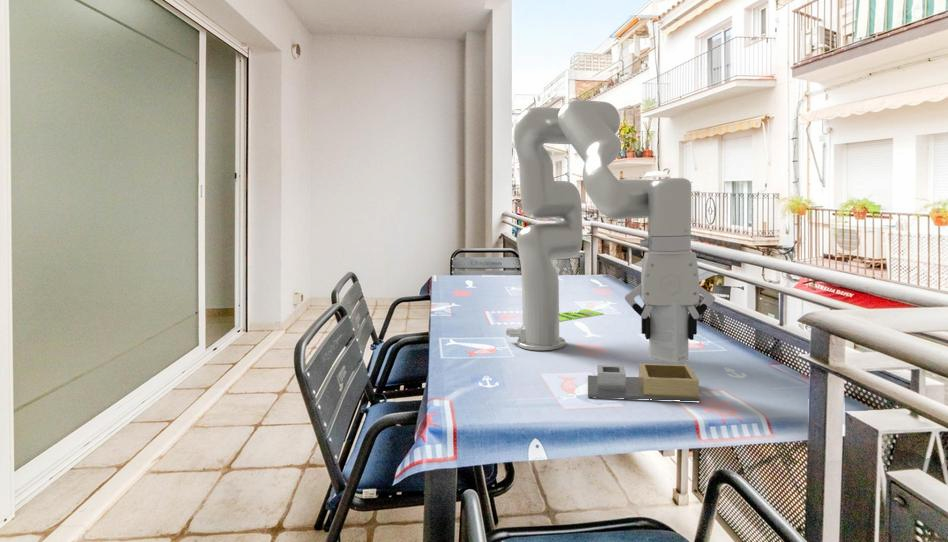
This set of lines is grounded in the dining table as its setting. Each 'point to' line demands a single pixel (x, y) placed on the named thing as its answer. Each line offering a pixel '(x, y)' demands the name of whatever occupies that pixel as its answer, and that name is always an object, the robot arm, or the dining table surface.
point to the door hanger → (577, 314)
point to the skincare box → (669, 333)
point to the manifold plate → (645, 383)
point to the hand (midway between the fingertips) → (668, 337)
